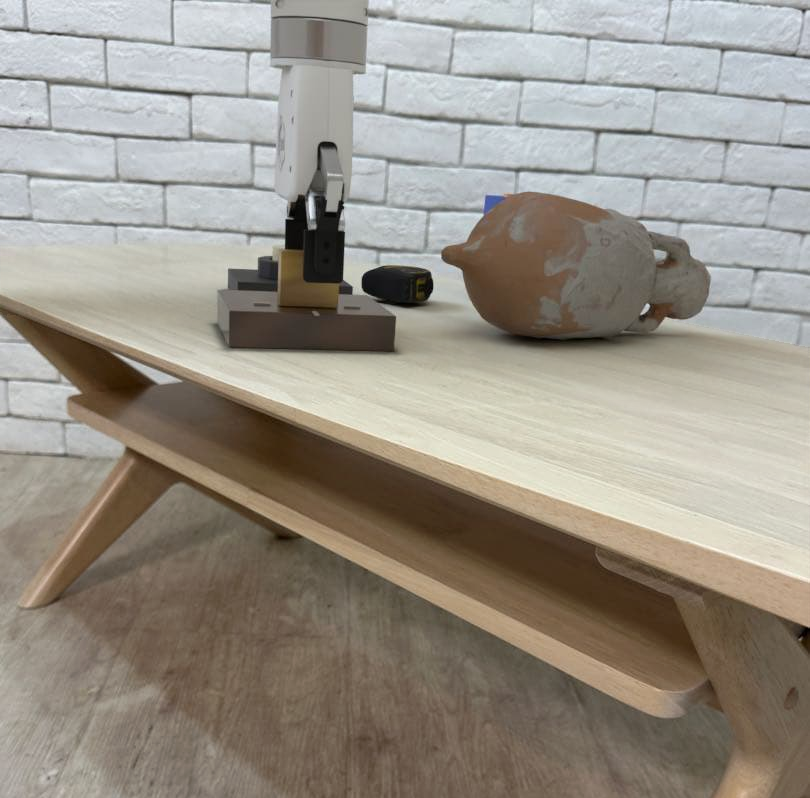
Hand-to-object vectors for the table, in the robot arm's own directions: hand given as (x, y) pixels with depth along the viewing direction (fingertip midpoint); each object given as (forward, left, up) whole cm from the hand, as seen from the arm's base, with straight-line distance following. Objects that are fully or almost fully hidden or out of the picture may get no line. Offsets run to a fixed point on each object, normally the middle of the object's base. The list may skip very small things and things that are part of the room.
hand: (312, 274), depth 84 cm
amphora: (+27, +5, -6) cm, 28 cm away
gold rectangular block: (0, 0, -3) cm, 3 cm away
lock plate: (0, +2, -6) cm, 6 cm away
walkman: (+29, +29, -6) cm, 41 cm away
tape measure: (+14, +22, -6) cm, 27 cm away
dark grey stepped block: (+2, +24, -6) cm, 24 cm away
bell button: (+2, +24, -2) cm, 24 cm away
